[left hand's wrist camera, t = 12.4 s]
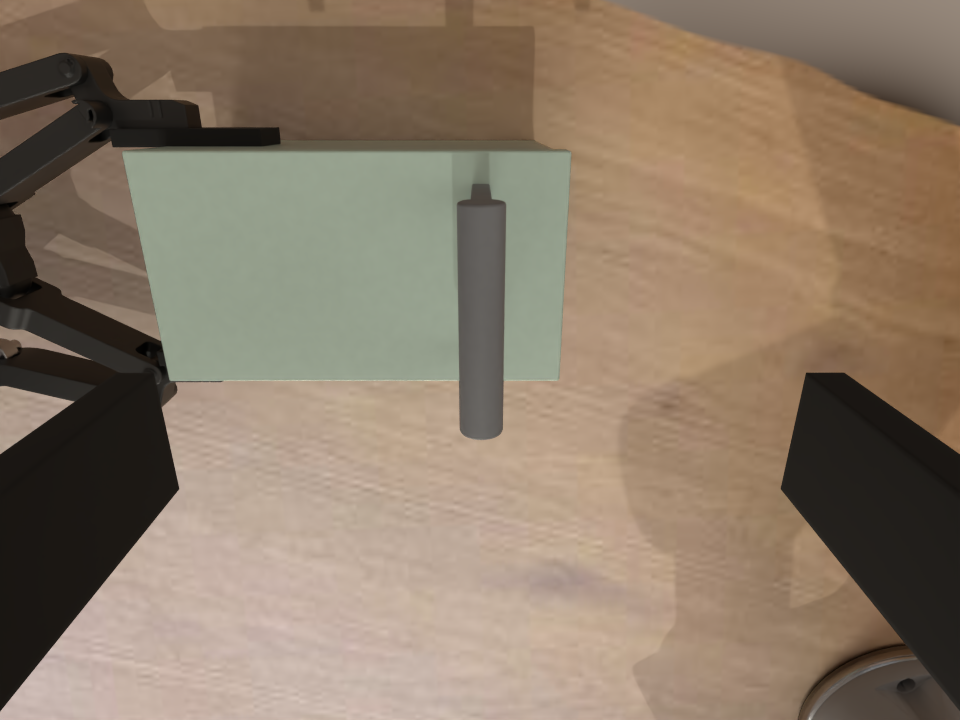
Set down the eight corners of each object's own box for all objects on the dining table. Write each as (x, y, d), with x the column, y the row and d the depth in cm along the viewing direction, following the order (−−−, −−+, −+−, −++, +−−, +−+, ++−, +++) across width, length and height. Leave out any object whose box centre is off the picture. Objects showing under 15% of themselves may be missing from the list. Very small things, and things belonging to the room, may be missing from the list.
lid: (567, 149, 24) (609, 165, 17) (556, 371, 28) (586, 469, 20) (136, 149, 24) (-24, 165, 16) (180, 371, 28) (66, 469, 20)
